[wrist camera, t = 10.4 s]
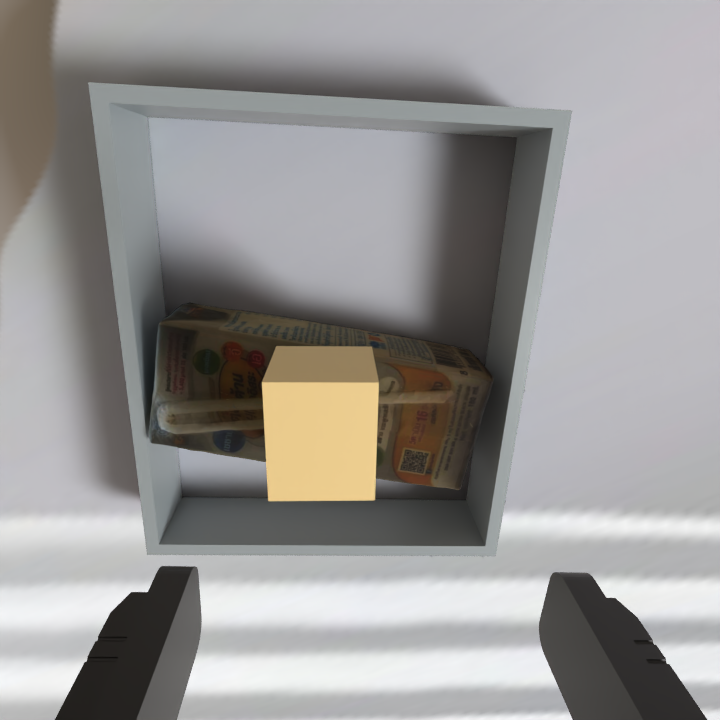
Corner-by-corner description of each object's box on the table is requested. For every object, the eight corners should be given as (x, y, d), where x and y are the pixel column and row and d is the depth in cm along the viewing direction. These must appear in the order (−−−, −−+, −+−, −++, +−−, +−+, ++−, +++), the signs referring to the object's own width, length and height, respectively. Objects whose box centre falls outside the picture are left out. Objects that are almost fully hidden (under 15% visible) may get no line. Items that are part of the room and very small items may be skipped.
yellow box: (276, 346, 26) (261, 382, 21) (371, 346, 26) (378, 382, 21) (280, 447, 28) (268, 501, 23) (368, 447, 28) (374, 500, 23)
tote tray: (131, 100, 27) (88, 82, 22) (532, 122, 28) (572, 110, 24) (172, 506, 36) (147, 554, 31) (475, 509, 37) (495, 556, 32)
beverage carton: (185, 292, 31) (147, 319, 25) (474, 343, 33) (507, 379, 27) (176, 405, 34) (140, 455, 27) (445, 445, 36) (469, 500, 29)
